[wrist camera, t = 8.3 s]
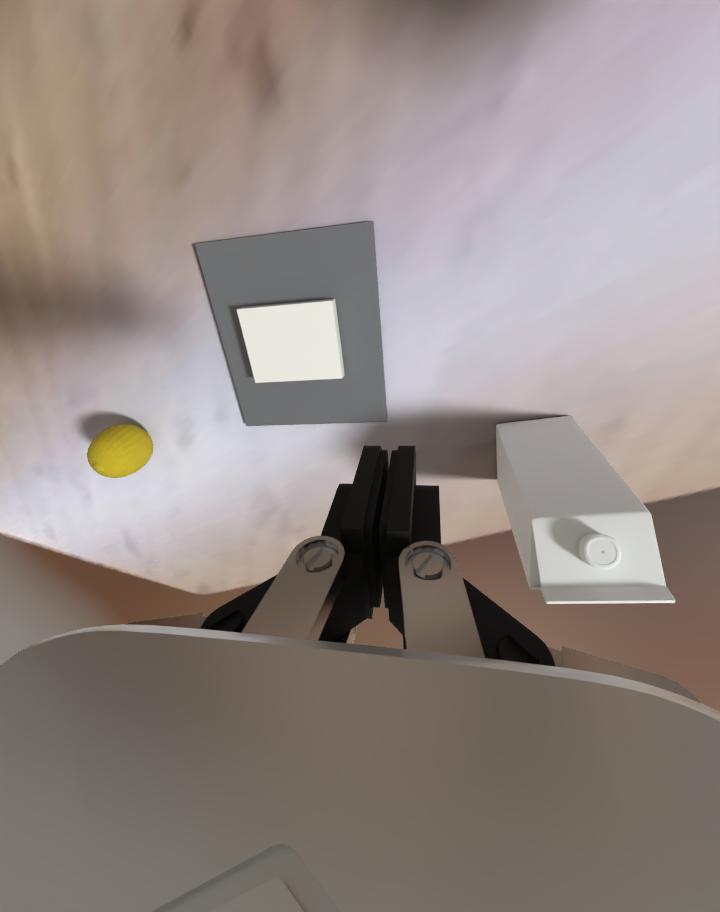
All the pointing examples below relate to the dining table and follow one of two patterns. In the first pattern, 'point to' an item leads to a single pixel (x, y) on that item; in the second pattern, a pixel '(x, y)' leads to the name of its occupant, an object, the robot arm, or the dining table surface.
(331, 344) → the tile
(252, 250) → the mat
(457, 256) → the dining table surface
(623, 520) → the milk carton
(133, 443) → the lemon
